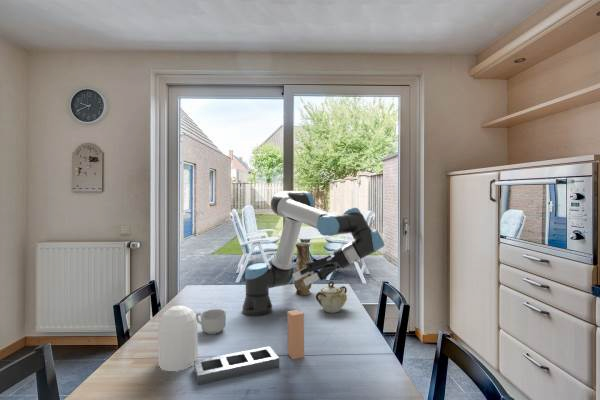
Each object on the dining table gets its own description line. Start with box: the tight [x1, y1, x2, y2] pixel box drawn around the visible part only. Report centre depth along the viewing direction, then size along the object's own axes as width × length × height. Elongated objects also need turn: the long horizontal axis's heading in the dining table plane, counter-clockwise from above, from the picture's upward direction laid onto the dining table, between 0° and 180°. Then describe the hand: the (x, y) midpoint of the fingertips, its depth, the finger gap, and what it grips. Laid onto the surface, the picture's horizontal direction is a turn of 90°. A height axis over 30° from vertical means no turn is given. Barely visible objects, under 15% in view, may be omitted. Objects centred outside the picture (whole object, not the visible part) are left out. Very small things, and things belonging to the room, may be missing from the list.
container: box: [157, 305, 199, 372], centre depth 123 cm, size 14×13×20 cm
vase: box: [293, 241, 312, 296], centre depth 207 cm, size 10×11×30 cm
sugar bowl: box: [315, 280, 348, 314], centre depth 176 cm, size 20×15×15 cm
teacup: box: [195, 308, 227, 335], centre depth 151 cm, size 14×11×8 cm
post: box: [286, 309, 305, 360], centre depth 127 cm, size 5×5×16 cm
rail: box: [193, 345, 280, 386], centre depth 119 cm, size 10×27×3 cm, turn 114°
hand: (299, 280), depth 139 cm, fingers open, 13 cm apart
